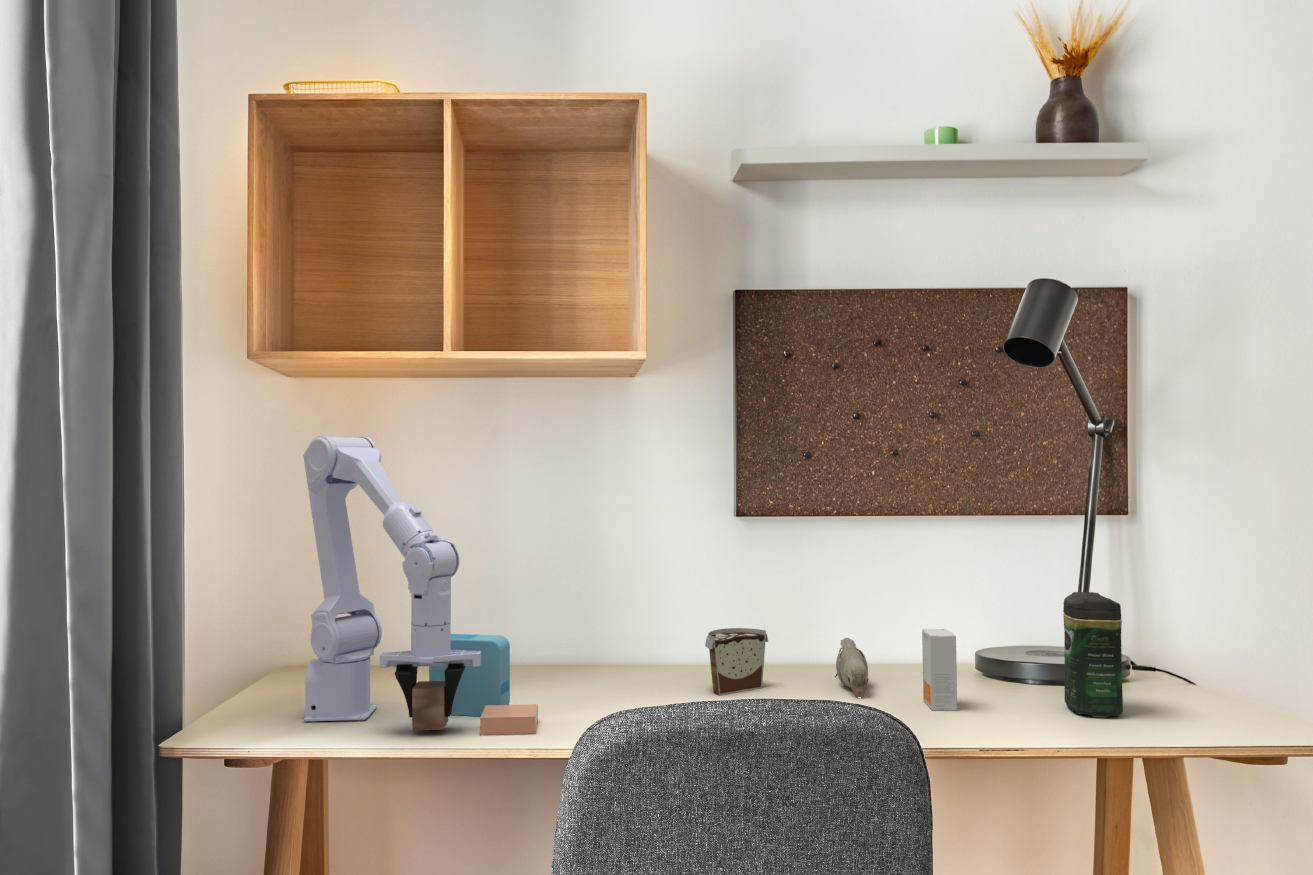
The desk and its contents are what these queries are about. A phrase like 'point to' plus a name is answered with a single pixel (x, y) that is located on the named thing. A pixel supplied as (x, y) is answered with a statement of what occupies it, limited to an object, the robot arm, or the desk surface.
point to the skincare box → (939, 669)
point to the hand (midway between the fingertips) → (430, 715)
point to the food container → (736, 659)
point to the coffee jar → (1093, 654)
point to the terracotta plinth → (509, 719)
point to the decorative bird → (852, 667)
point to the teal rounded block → (479, 674)
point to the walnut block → (429, 705)
